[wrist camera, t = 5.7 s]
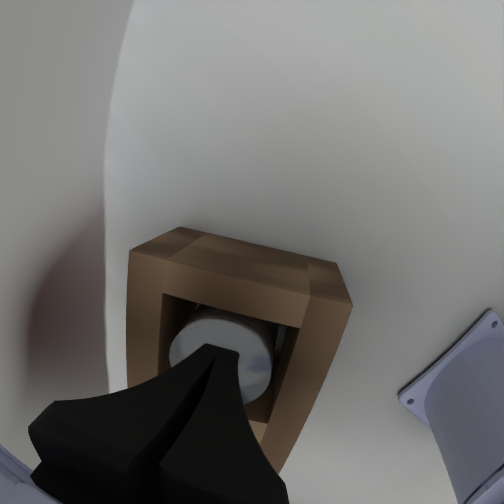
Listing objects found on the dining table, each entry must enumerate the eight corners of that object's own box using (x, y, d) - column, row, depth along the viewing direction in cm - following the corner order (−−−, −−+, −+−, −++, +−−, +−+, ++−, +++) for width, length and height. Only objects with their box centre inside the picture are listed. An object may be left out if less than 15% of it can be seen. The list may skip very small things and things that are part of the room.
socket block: (336, 263, 14) (352, 305, 10) (271, 447, 18) (261, 502, 13) (179, 226, 15) (129, 250, 10) (162, 417, 19) (135, 465, 14)
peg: (296, 313, 15) (293, 370, 11) (245, 358, 16) (226, 419, 12) (237, 261, 15) (209, 301, 10) (190, 312, 16) (152, 362, 11)
